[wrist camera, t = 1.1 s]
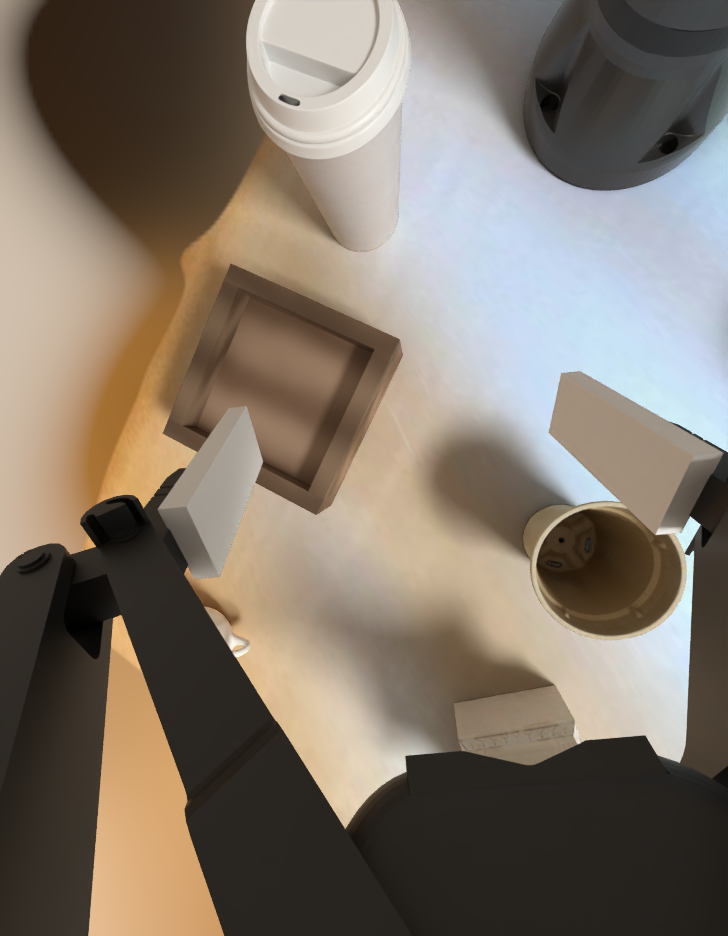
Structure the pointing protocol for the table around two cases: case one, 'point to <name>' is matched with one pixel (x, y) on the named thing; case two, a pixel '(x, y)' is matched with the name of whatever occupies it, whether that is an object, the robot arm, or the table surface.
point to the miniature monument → (517, 726)
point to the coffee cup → (335, 104)
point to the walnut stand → (286, 384)
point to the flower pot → (604, 569)
